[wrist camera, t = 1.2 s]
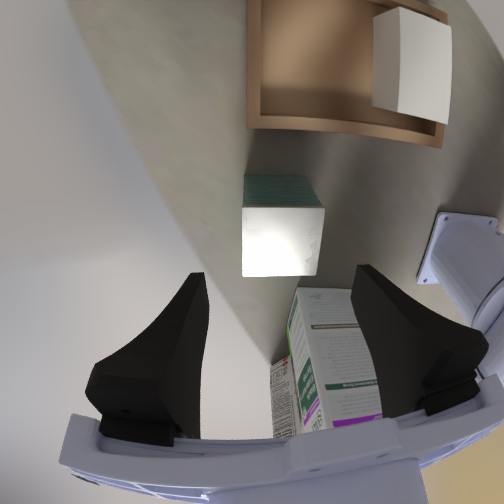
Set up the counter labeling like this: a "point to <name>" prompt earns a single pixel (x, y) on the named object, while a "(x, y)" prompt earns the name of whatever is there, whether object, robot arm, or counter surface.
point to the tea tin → (280, 226)
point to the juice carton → (284, 400)
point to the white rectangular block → (412, 64)
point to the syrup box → (330, 361)
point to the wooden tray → (324, 69)
